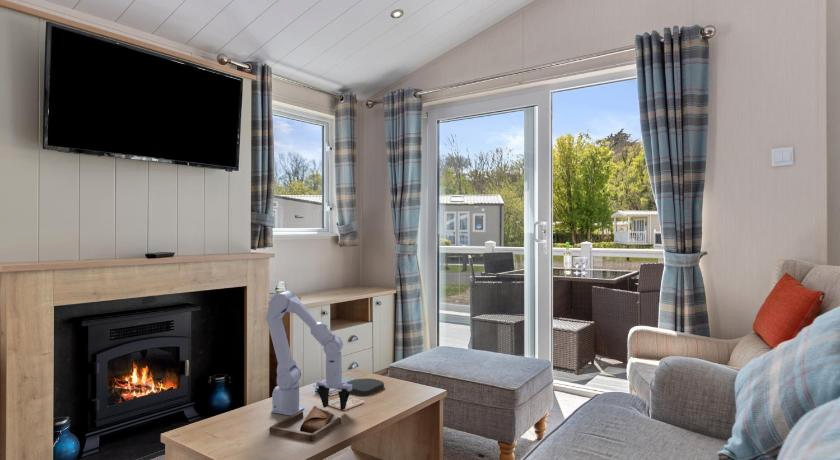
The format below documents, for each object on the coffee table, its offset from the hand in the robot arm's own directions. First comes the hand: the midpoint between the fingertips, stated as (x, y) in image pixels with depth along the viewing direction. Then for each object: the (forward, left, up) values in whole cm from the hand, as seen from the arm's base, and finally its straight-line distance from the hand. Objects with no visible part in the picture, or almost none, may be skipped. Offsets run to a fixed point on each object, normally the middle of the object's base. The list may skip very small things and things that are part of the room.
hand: (334, 408), depth 185 cm
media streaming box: (-4, +27, -2) cm, 28 cm away
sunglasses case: (+1, -11, -2) cm, 12 cm away
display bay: (0, -17, -1) cm, 17 cm away
